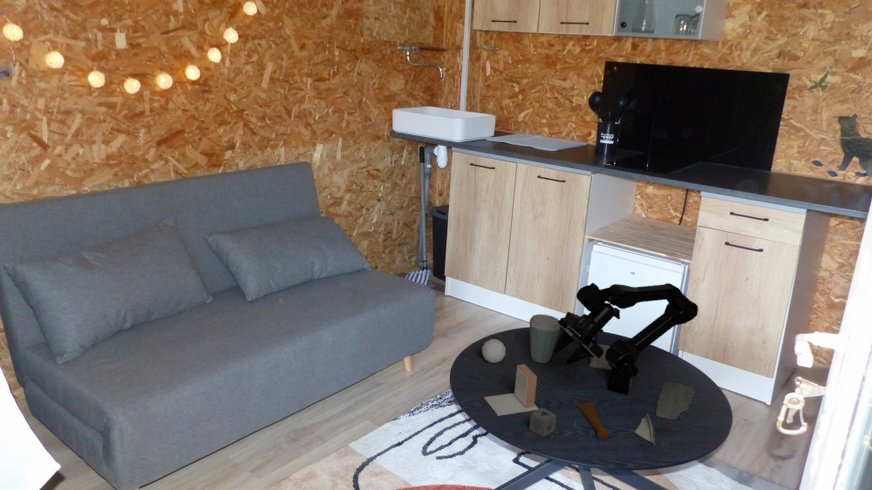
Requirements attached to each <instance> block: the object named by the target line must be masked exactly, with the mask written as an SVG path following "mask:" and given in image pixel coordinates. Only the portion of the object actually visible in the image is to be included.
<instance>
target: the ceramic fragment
mask: <svg viewBox="0 0 872 490" xmlns="http://www.w3.org/2000/svg"><path fill="white" fill-rule="evenodd" d="M633 433H634V434H636V435H637V436H639V437H640V438H641V439H643V440H644V441H646V442H649V443H650V444H652V445H653V446H654V447H656V436H655V428H654V425H653V422H652V420H651V418H650V415H649V413H646V414H645V416H644V417H642V418H641V421H640V422H639V425H638V427H637V428H636V429H635V431H634V432H633Z"/></svg>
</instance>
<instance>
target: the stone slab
mask: <svg viewBox="0 0 872 490" xmlns="http://www.w3.org/2000/svg"><path fill="white" fill-rule="evenodd" d="M694 392H695V393H694ZM694 394H695V395H696V390H694V388H692V387H691V386H689V385H686V384H683V383H677V382H676V381H675V382H674V381H669V382H668V381H667V382H666V383H664V384H663V385H662V386H661V390H660V393H659V394H658V401H657V403H656V409H655V415H656V417H657V416H658V417H657V418H661V417H662V418H661V419H666V418H667V419H666V420H671V419H673V420H672V421H675V420H674V419H675V418H677V416H679V415H680V413H681V412H683V411H686V410H687V409H688V407H689V405H690V403H691V400H693V398H692V397H693V396H694V397H695V395H694ZM678 414H679V415H678Z"/></svg>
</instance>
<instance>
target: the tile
mask: <svg viewBox="0 0 872 490" xmlns="http://www.w3.org/2000/svg"><path fill="white" fill-rule="evenodd" d="M515 373H516V374H515V376H516V377H515V385H514V393H515V394H514V395H515V396H516V397H517V398H518V400H519V401H520V402H521V403H522V404H523V405H524V406H525V408H532V407H534V404H535V401H536V391H537V378H538V376H537V375H536V374H535V373H534V372H533V371H532V370H531V369H530V368H529V367H528V366H527V364H524V363H522V364H516V372H515Z"/></svg>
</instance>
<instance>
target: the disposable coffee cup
mask: <svg viewBox="0 0 872 490" xmlns="http://www.w3.org/2000/svg"><path fill="white" fill-rule="evenodd" d="M559 320H560V319H558V318H557V317H555V316H552V315H548V314H542V313H541V314H539V313H538V314H533V315H532V317H531V318H530V319H529V320H528V321H529V322H528V323H529V336H530V337H529V343H530V347H529V348H530V356H531V359H532V361H535V362H537V363H540V364H541V363H543V364H545V363H548V362H549V361H550V360H551V358H552V355H553V353H554V351H553V350H554V348H555V346H556V344H557V341H558V336H559V333H560V328H559V326H561V325H560V324H559V323H558V321H559ZM561 327H562V326H561Z"/></svg>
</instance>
